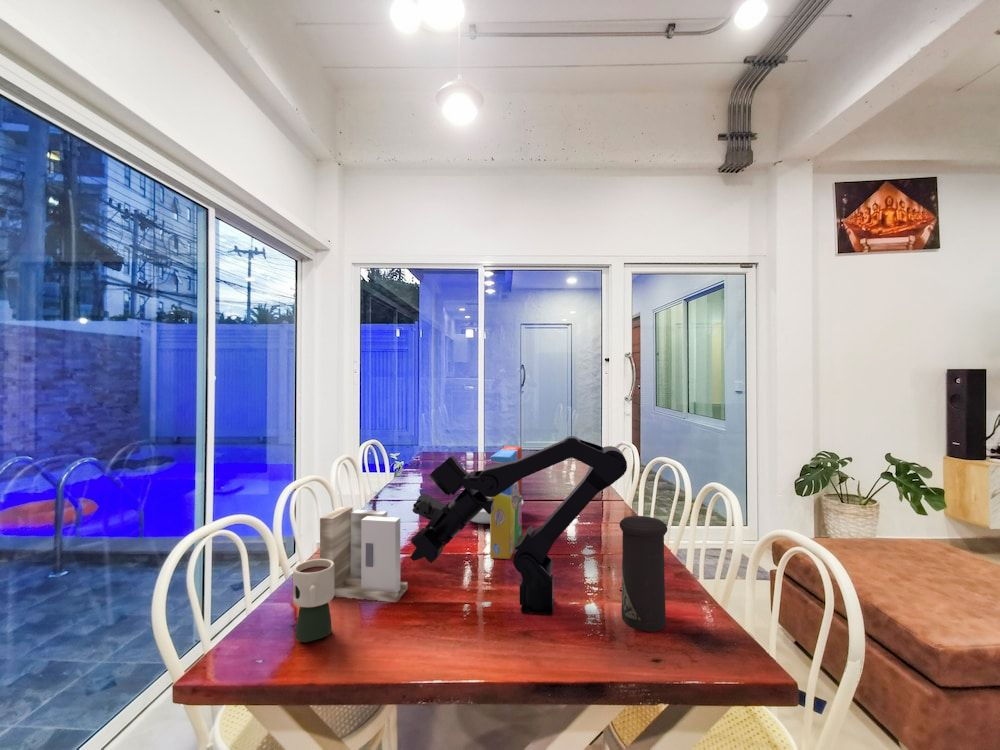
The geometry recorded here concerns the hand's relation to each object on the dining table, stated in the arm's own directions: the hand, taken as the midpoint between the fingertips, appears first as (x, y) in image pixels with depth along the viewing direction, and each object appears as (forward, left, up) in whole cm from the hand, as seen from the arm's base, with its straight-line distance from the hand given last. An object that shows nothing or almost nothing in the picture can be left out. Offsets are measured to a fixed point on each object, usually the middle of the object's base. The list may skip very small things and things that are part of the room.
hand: (412, 558), depth 101 cm
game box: (-16, -34, -8) cm, 38 cm away
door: (+7, 0, -8) cm, 11 cm away
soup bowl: (-6, -56, -8) cm, 57 cm away
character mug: (+12, +18, -8) cm, 23 cm away
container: (-49, +2, -8) cm, 49 cm away
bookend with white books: (+11, -2, -8) cm, 14 cm away
